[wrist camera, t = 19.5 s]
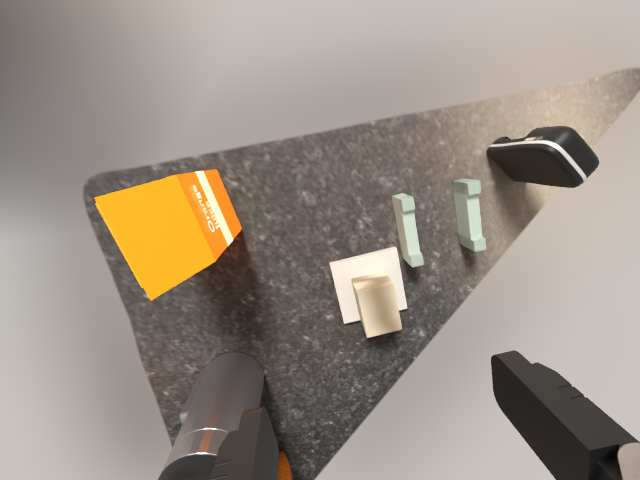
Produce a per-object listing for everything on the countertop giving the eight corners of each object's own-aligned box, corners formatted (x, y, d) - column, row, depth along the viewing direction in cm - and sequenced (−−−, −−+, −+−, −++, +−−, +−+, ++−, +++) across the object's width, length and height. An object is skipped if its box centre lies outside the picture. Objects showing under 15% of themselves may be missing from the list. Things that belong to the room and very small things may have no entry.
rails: (402, 257, 46) (412, 267, 42) (391, 195, 43) (401, 199, 39) (469, 241, 46) (486, 249, 42) (463, 178, 43) (479, 180, 39)
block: (360, 319, 47) (367, 337, 42) (350, 278, 45) (357, 292, 41) (391, 311, 47) (402, 329, 42) (383, 270, 45) (393, 283, 41)
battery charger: (534, 162, 44) (614, 163, 32) (514, 183, 44) (585, 191, 33) (503, 128, 42) (575, 117, 31) (483, 150, 43) (547, 147, 32)
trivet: (343, 321, 48) (344, 323, 47) (329, 262, 45) (329, 264, 45) (405, 306, 48) (407, 308, 47) (395, 246, 45) (396, 248, 45)
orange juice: (191, 246, 44) (106, 317, 24) (163, 187, 41) (43, 213, 22) (243, 228, 43) (198, 285, 24) (217, 168, 41) (144, 177, 22)
